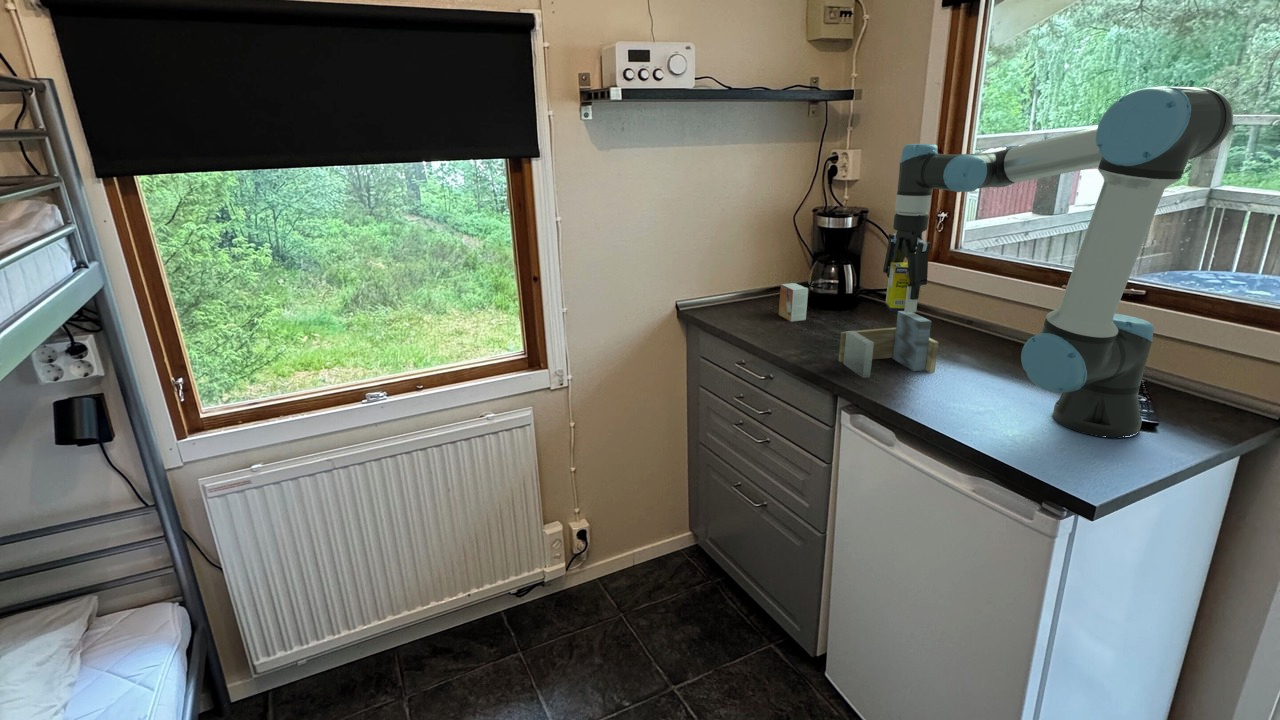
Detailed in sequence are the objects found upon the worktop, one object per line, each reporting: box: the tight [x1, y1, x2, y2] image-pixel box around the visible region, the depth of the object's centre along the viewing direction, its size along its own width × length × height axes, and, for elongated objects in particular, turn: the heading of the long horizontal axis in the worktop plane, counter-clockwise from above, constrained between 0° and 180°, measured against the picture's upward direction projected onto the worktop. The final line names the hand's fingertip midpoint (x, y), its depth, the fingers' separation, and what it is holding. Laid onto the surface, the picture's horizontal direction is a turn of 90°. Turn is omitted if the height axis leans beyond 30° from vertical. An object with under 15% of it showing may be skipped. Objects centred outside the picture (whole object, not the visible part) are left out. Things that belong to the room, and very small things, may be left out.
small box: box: [778, 282, 809, 323], centre depth 212 cm, size 8×6×10 cm
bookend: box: [842, 330, 874, 379], centre depth 167 cm, size 10×2×9 cm, turn 11°
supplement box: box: [885, 261, 915, 312], centre depth 161 cm, size 6×6×11 cm
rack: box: [838, 311, 939, 374], centre depth 168 cm, size 14×19×13 cm
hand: (900, 307), depth 162 cm, fingers closed on supplement box, 8 cm apart
